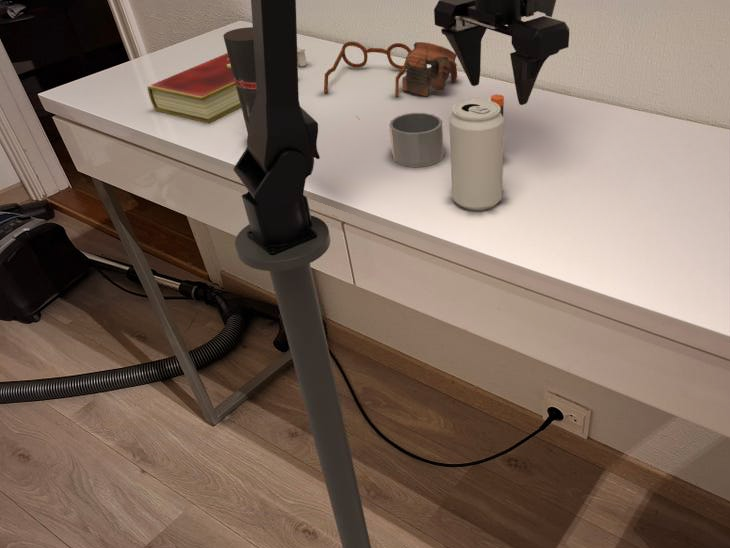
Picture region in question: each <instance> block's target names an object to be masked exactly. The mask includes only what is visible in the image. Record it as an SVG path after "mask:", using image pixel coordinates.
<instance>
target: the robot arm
mask: <svg viewBox="0 0 730 548" xmlns="http://www.w3.org/2000/svg"><path fill="white" fill-rule="evenodd" d="M556 3H557V0H438V1H437V3H436V5H435V7H434V9H433V15H434V16H433V18H434V19H433V20H434V26H436V27H439V28H441V29H440V32H441V34H442V35H444V36H445V38H446V39H447V41H448V43H449V45H450V46H451V49H452V50H453V52H454V53H455V54H456V58H457V59H458V62H459V63H460V65H461V67H462V69H463V71H464V73H465V75H466V77H467V80H468V82H469V83H470V85H471V86H473V87H476V86H479V84H480V79H481V78H480V77H481V65H482V63H481V60H482V41H483V39H484V35H485V34H486V31H487V30H490V31H493V32H496V33H499V34H502V35H505V36H508V37H511V46H512V47H513V50H514V51H513V52H510V53H509V55H510V62H511V63H510V64H511V68H512V74H513V80H514V86H515V93H516V97H517V101H518V104H519V105H520V106H524V105H526V104H528V102H529V99H530V98H531V97H530V96H531V94H532V91H533V89H534V86H535V85H536V84H535V83H536V81H537V78H538V76H539V73H540V71H541V70H542V68H543V66H544V64H545V62H546V61H547V60H548V58H549V57H550V56H551V57H552V56H553V55H557V54H558V53H559V52H560V51H562V50H565V49H568V48H570V47H569V45H570V44H569V43H570V27H569V26H568V25H567V23H566V22H565V21H563V20H559V19H555V18H553V15H554V11H555V7H556ZM250 10H251V21H252V22H251V23H252V27H253V40H254V55H255V70H256V86H257V94H256V99H255V102H254V105H253V108H252V111H251V114H250V118H249V128H248V132H247V139H246V146H247V147H246V148H245V149H244V151H243V153H242V155H241V156H240V157H239V159H238V161H237V162H236V163H235V165H234V167H233V171H234V173H235V174H236V176H237V177H238V178H239V180H240V181H241V183H242V184H243V186H244V187H245V188H246V190H247V191H246V193H244V194H242V195H241V198H242V199H241V200H242V202H243V205H244V210H245V213H246V217H247V221H248V225H249V224H250V228H251V230H250V231H248V232H247V236H248V237H249V238H250V239H251V240H252V241H254V242H255V243H256V244H257V245H259V246H260V247H261V248H262V249H263V250H265V251H266V252H267V253H268V254H270V255H276V254H278V253H281V252H283V251H286V250H288V249H290V248H293V247H295V246H298V245H300V244H302V243H305V242H307V241H309V240H312V239H314V238H316V237H317V233H316V232H315V231H314V230H312V229H311V228H309V227H312V220H311V215H312V214H311V211H310V205H309V200H308V197H307V196H306V195H304V193H305V186H306V180H307V179H308V177H309V176H311V175H312V173H313V171H314V167H315V159H316V160H320V158H321V156H320V153H319V151H318V147H317V146H318V145H317V144H318V143H317V141H318V135H319V123H318V122H317V121H316V120H315V119H314V118H313V116H311V115H310V114H309V113H308V112H307V111H306V110H305V109H304V108H303V107H302V106H301V104H300V98H299V95H300V94H299V66H298V58H297V48H298V30H297V29H298V28H297V27H298V25H297V0H250ZM537 12H538V13H542V14H544V15H543V16H540V17H536V18H532V19H529V20H525V21H524V20H522V18H524V17H525V18H529V17H532V16H535V13H537Z"/></svg>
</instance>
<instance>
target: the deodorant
mask: <svg viewBox="0 0 730 548" xmlns="http://www.w3.org/2000/svg"><path fill="white" fill-rule="evenodd" d="M222 37H223V40H224V44H225V47H226V53H228V57H229V61H230V65H231V69H232V73H233V77H234V81H235V85H236V89H237V92H238V96H239V100H240V104H241V107H240V109H241V112H242V117H243V120H244V124H245V128H246V133H248V128H249V118H250V114H251V111H252V108H253V105H254V102H255V99H256V94H257V86H256V70H255V55H254V40H253V26H251V27H250V26H249V27H241V28H240V27H239V28H235V29H231V30H229V31H227V32H225V33H224V34H223V35H222Z"/></svg>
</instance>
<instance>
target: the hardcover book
mask: <svg viewBox="0 0 730 548" xmlns="http://www.w3.org/2000/svg"><path fill="white" fill-rule="evenodd" d="M147 92H148V97H149V99H150V102H151V105H152V107H153V109H154V110H155V111H156V112H159V113H164V114H167V115H172V116H177V117H180V118H185V119H190V120H195V121H197V122H198V121H199V122H202V123H207V124H210V123H212V122H215V121H217V120H219V119H221V118H223V117H224V116H226V115H229V114H230V113H232V112H234V111H236V110H238V109H241V104H240V100H239V96H238V92H237V89H236V85H235V81H234V77H233V73H232V69H231V65H230V61H229V57H228V53H227V52H226V53H224V54H222V55H219V56H217V57H213V58H212V59H209V60H207V61H204V62H203V63H202V62H201V63H200V64H198V65H195V66H193V67H190V68H187V69H185V70H183V71H180V72H178V73H176V74H174V75H173V74H172V75H171V76H168V77H166V78H164V79H161V80H159V81H157V82H155V83H151V84H150V85H148V86H147Z"/></svg>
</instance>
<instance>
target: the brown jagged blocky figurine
mask: <svg viewBox="0 0 730 548" xmlns="http://www.w3.org/2000/svg"><path fill="white" fill-rule="evenodd" d="M407 55H408V56H407ZM407 55H406V57H405V60H406V59H407V60H406V61H407V63H408V64H407V67H406V70H405V74H406V75H405V76H403V77H402V79H401V80H402V81H401V82H402V91H405V92H409V93H412V94H416V95H420V96H423V97H428V96H429V90H430V87H431V89H432V90H433V91H435V92H440V91H443V90H445V86H446V82H447V81H448V79H449V76H450V81H451V83H454V82H456V81H457V79H458V70H457V69H458V68H457V66H458V65H457V63H456V58H457V55H456V53H455V52H454V51H452V50H451V49H449V48H446V47H445V46H443V45H438V44H435V43H431V42H423V41H415V42H414V44H413V49H411V52H410V53H409V54H408V53H407ZM428 65H430V67H428Z"/></svg>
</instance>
